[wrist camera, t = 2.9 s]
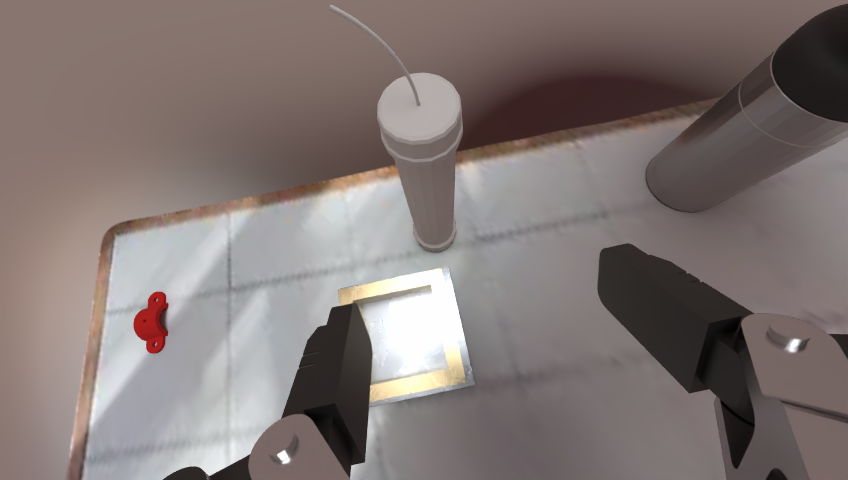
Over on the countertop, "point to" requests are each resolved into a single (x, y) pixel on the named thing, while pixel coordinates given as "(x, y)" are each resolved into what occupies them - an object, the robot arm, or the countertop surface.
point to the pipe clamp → (152, 323)
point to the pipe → (422, 146)
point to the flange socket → (412, 335)
